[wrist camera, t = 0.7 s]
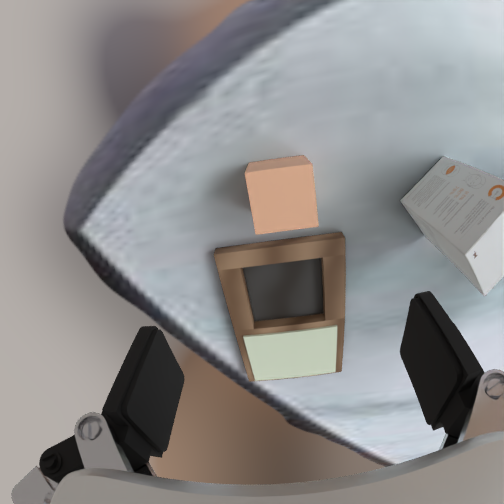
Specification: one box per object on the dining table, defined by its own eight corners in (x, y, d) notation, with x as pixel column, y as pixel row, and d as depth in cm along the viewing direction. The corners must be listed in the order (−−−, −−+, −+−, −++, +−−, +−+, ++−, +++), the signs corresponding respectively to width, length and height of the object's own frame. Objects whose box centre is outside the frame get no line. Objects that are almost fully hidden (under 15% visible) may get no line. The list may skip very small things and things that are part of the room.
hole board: (341, 231, 30) (345, 238, 28) (339, 364, 40) (341, 373, 38) (215, 248, 32) (213, 255, 30) (249, 374, 41) (249, 383, 40)
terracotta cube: (303, 155, 27) (312, 163, 22) (310, 206, 29) (318, 226, 24) (248, 162, 27) (244, 173, 22) (257, 213, 30) (255, 234, 25)
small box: (424, 236, 30) (483, 299, 18) (398, 200, 28) (463, 255, 16) (466, 193, 26) (536, 239, 15) (443, 154, 25) (522, 186, 13)
